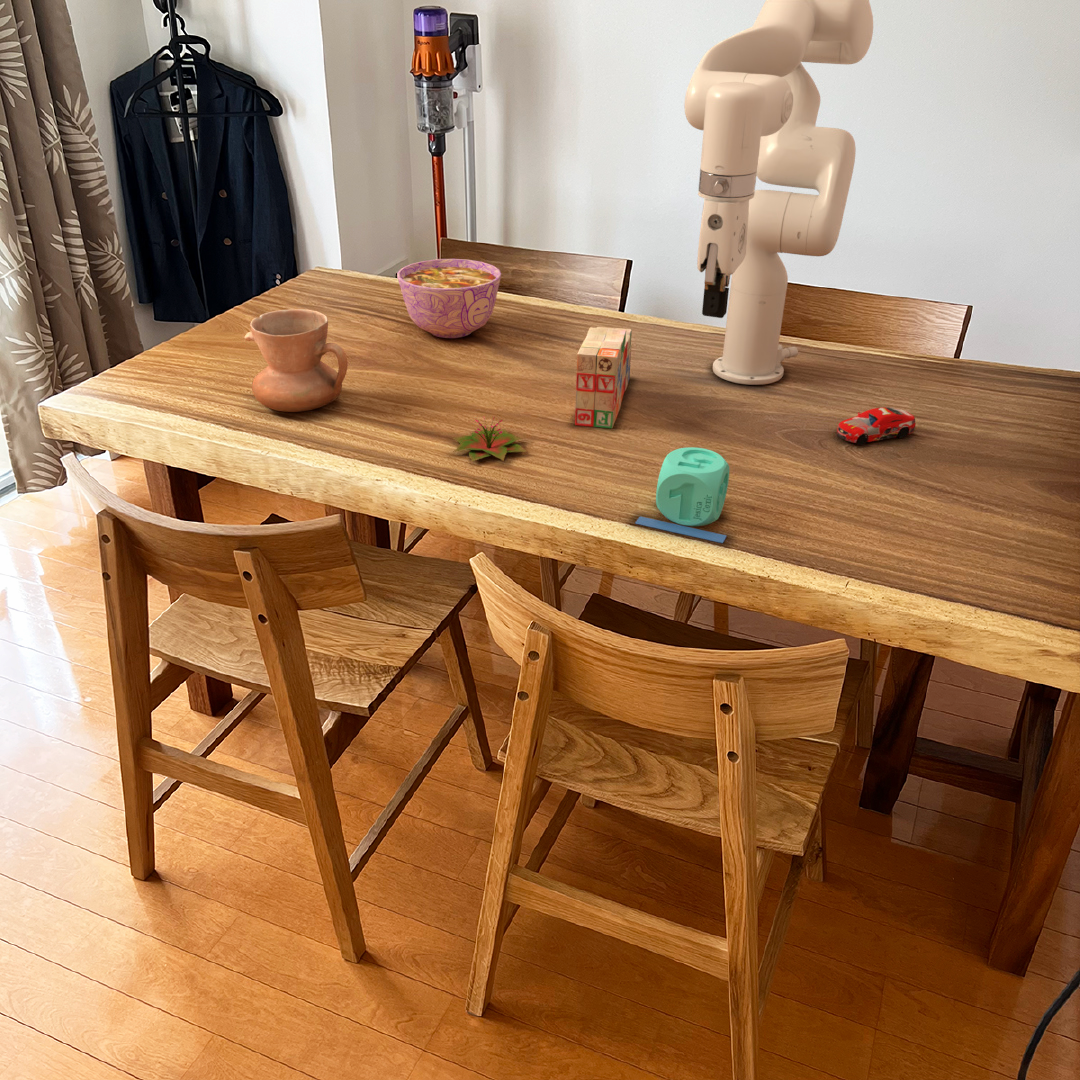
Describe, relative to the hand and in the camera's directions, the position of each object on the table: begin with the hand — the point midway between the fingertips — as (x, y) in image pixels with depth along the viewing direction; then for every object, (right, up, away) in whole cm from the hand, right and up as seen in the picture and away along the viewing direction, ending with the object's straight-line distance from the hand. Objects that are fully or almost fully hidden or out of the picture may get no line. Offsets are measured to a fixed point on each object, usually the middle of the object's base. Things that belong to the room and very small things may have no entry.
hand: (714, 314), depth 142 cm
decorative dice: (-5, -29, -8) cm, 30 cm away
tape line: (-7, -31, -12) cm, 34 cm away
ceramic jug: (-65, -10, +22) cm, 69 cm away
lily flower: (-33, -19, +8) cm, 39 cm away
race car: (+28, -16, +14) cm, 35 cm away
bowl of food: (-43, +9, +52) cm, 68 cm away
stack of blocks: (-15, -9, +24) cm, 29 cm away
